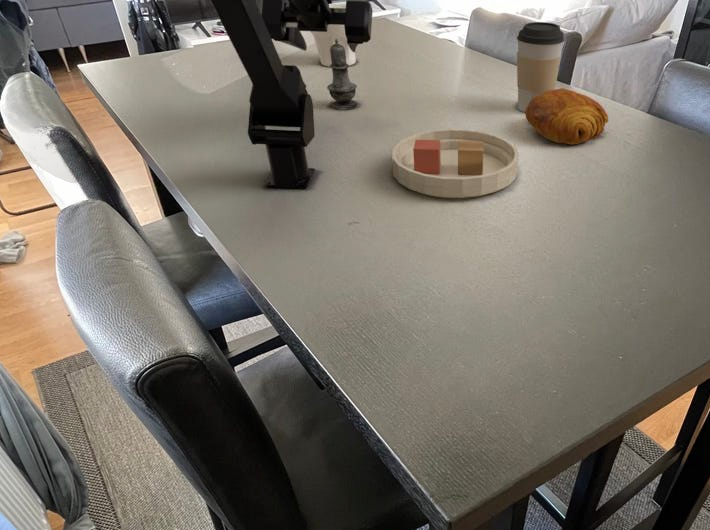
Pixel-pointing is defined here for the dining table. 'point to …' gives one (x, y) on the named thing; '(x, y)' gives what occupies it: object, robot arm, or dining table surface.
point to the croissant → (566, 116)
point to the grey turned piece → (341, 80)
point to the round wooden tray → (448, 184)
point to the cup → (333, 41)
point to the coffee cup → (537, 60)
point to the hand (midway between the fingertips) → (330, 48)
